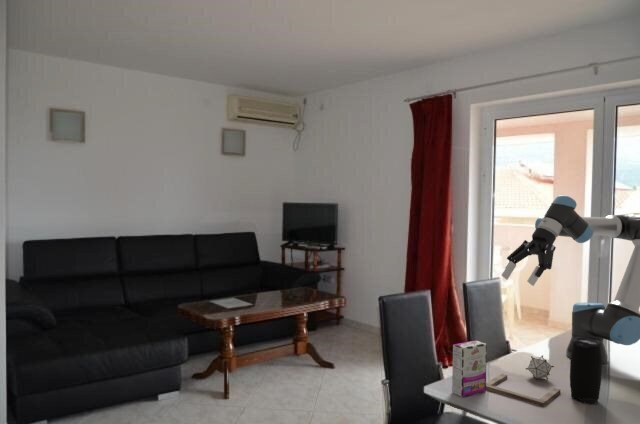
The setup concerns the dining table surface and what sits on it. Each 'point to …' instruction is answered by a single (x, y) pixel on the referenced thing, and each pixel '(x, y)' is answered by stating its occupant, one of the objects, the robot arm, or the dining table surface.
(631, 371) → the dining table surface
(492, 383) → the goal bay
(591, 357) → the portable speaker
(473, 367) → the candy bar box
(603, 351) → the robot arm
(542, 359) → the game die
